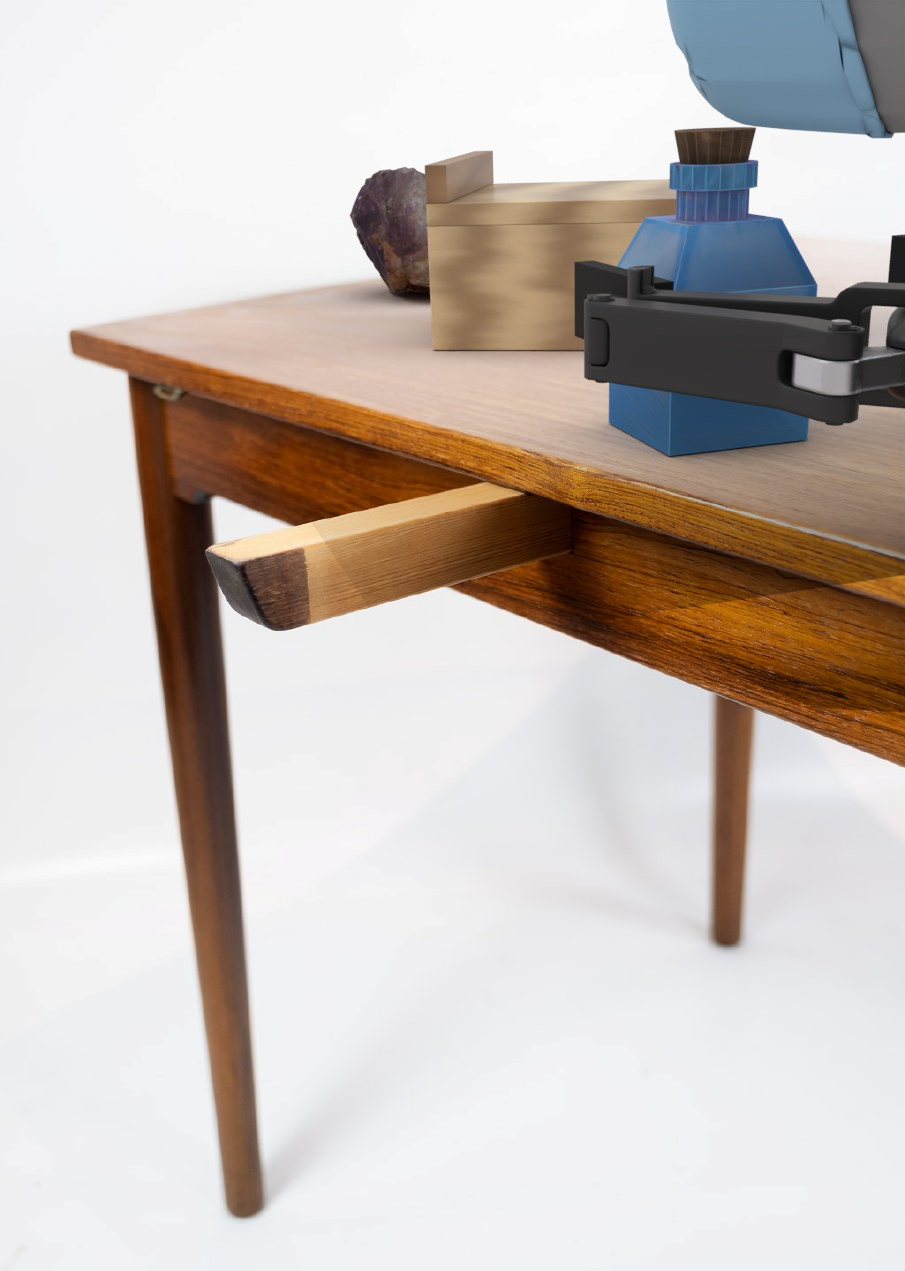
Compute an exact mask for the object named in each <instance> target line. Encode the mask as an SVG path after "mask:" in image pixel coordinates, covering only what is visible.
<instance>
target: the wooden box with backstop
mask: <svg viewBox="0 0 905 1271" xmlns="http://www.w3.org/2000/svg"><path fill="white" fill-rule="evenodd" d="M424 174H425V187H426V203H427V205H426V208H427V226H428V227H427V232H428V255H429V278H430V293H429V296H430V298H429V300H430V321H431V343H432V346H431V347H432V350H433V351H584V339H581V338H579V337H576V336H575V279H574V262H580V261H592V260H594V261H597V262H601V263H605V264H609V265H613V266H617V265H618V263H619V262H620V260H621V258H622V256H623V255H624V253H625V251H626V250H627V248H628V246H629V244H630V243H631V241H632V239H633V238H634V236H635V234H636V233H637V231H638V229H639V227H640V226H641V224H642V222H643V221H644V219H645V217H657V216H671V215H676V192H677V190H671V189H669V179H670V178H667V179H665V178H664V179H628V180H627V179H626V180H592V181H591V180H590V181H589V180H586V181H585V180H584V181H547V182H545V181H544V182H511V183H510V182H509V183H508V182H507V183H505V182H504V183H494V181H495V180H494V151H493V150H474V151H471V152H470V151H469V152H467V153H464V154H463V153H462V154H459V155H456V156H452V157H449V158H445V159H443V160H439V161H435V162H431V163H428V164H425V165H424Z"/></svg>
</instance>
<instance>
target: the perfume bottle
mask: <svg viewBox="0 0 905 1271" xmlns="http://www.w3.org/2000/svg"><path fill="white" fill-rule="evenodd" d="M756 130H757V127H756V126H732V127H731V126H727V127H726V126H725V127H722V126H721V127H701V128H699V127H697V128H683V129H674V130H673V131H674V138H675V143H676V148H677V149H676V150H677V155H678V160H679V161H675V162H670V163H669V178H668V179H669V189H671V190H677V192H676V215H671V216H657V217H645V219H644V221H643V222H642V224H641V226H640V227H639V229H638V231H637V233H636V234H635V236H634V238H633V239H632V241H631V243H630V244H629V246H628V248H627V250H626V251H625V253H624V255H623V256H622V258H621V260H620V262H619V263H618V265H617V267H620V268H624V269H628V268H629V267H634V266H654V276H655V277H659V278H663V279H667V280H670V281H674V290H677V291H699V292H721V293H744V294H766V295H788V296H810V297H818V283H817V281H816V279H815V277H814V275H813V274H812V272H811V270H810V268H809V267H808V264H807V263H806V261H805V259H804V257H803V255H802V253H801V251H800V249H799V248H798V246H797V245H796V242H795V240H794V239H793V237H792V235H791V233H790V231H789V229H788V228H787V226H786V224H785V222H784V220H783V218H780V217H775V216H768V215H763V214H755V213H749V212H750V189H754V188H757V187H758V178H759V176H758V175H759V160H757V159H750V155H751V150H752V147H753V143H754V138H755V135H756ZM608 423H609V424H610V425H612V426H614V427H616V428H617V429H619V430H621V431H623V432H625V433H626V434H628V435H630V436H632V437H634V438H636V439H637V440H639V441H640V442H643V443H644V444H646V445H648V446H650V447H652V448H653V449H655V450H657V451H659V452H660V453H661V454H665V455H666V456H668V457H673V456H681V455H689V454H690V455H691V454H697V453H707V452H714V451H723V450H724V451H725V450H732V449H740V448H748V447H756V446H766V445H774V444H782V443H790V442H799V441H807V440H808V437H809V427H810V426H809V424H810V419H809V418H806V417H803V416H800V415H796V414H793V413H790V412H786V411H783V410H780V409H774V408H768V407H761V406H755V405H749V404H742V403H736V402H729V401H723V400H716V399H710V398H703V397H697V396H691V395H684V394H678V393H671V392H665V391H658V390H652V389H645V388H639V387H633V386H626V385H620V384H613V383H608Z"/></svg>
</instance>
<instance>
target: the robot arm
mask: <svg viewBox="0 0 905 1271" xmlns="http://www.w3.org/2000/svg"><path fill="white" fill-rule="evenodd" d="M665 2H666V9H667V10H666V11H667V15H668V19H669V24H670V28H671V32H672V35H673V39H674V42H675V44H676V46H677V47H678V49H679V50H680V52H682V54H683V56H684V58H685V60H686V62H687V66H688V67H687V68H688V75H689V77H690V80H691V82H692V83H693V86H694V87H695V88H696V90H697V91H698V92H699V94H700V95H701V97H702V98H704V100H705V101H706V102H707V103H708V104H709V105H710V107H712V108H713V109H714V110H715V111H717V112H718V113H719V114H721V115H722V116H724V117H725V118H727V119H729V120H731V121H732V122H736V123H738V124H741V125H745V126H749V127H755V128H757V127H758V128H768V129H779V130H788V131H801V132H802V131H803V132H815V133H816V132H818V133H830V134H831V133H833V134H845V135H846V134H847V135H848V134H849V135H860V136H861V135H862V136H867V137H869V138H871V139H892V138H893V137H894V136H895V134H905V0H665ZM890 240H891V241H890V252H889V264H888V275H887V276H888V277H887V282H883V281H881V282H880V281H859V282H856V283H854V284H853V285H850V286H848V287H846V288H845V289H842V291H840V292H839V293H838V294H837V296H836V297H831V296H817V297H810V296H788V295H766V294H744V293H721V292H699V291H677V290H674V281H670V280H667V279H663V278H659V277H655V276H654V266H634V267H629V268H628V269H624V268H620V267H617V266H613V265H609V264H605V263H601V262H597V261H594V260H592V261H580V262H574V279H575V336H576V337H579V338H581V339H584V350H583V378H584V379H585V380H588V381H594V382H595V383H597V384H609V383H613V384H620V385H626V386H633V387H639V388H645V389H652V390H658V391H665V392H671V393H678V394H684V395H691V396H697V397H703V398H710V399H716V400H723V401H729V402H736V403H742V404H749V405H755V406H761V407H768V408H774V409H780V410H783V411H786V412H790V413H793V414H796V415H800V416H803V417H806V418H809V420H813V421H817V422H822V423H824V424H825V425H827V426H832V427H833V426H835V427H837V426H838V427H839V426H840V427H841V426H843V425H845V424H852V423H853V422H856V421H857V420H858V419H859V411H860V406H868V407H881V408H892V409H903V410H904V409H905V234H892V235H891V239H890ZM873 307H887V308H888V307H889V308H896V309H894V311H892V313H891V314H890V316H889V319H888V322H887V328H886V337H885V345H882V346H869V344H870V342H869V341H870V330H871V317H872V309H873Z"/></svg>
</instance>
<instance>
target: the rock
mask: <svg viewBox="0 0 905 1271" xmlns="http://www.w3.org/2000/svg"><path fill="white" fill-rule="evenodd" d="M426 205H427V203H426V187H425V172H424V173H423V172H421V171H419V170H417V169H416V168H415V167H407V166H402V167H399V168H397V169H390V168H387V169H381V170H378V171H376V172H375V173H373V174H371V177H367V178H365V181H364V183H363V185H362V186H361V187H360V190H359V191H358V193H357V195H356V197H355V200H354V202H353V204H352V208H351V211H350V214H349V217H350V219H351V223H352V225H353V227H354V229H355V230H356V238H357V240H358V241H359V244H360V245H361V247H362V248H361V249H362V250H363V251H364V252H365V256H367V258H368V259H369V260H370V262H371V263H372V264H373V266H374V269H375V270H376V271H377V273H378V274H379V276H380V278H381V280H382V281H383V282H384V284H385V285H386V286H387V288H388V291H389V293H390V294H391V295H397V294H399V293H401V292H406V291H411V292H414V293H424V294H425V293H426V294H430V278H429V255H428V232H427V227H428V226H427V208H426Z"/></svg>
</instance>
